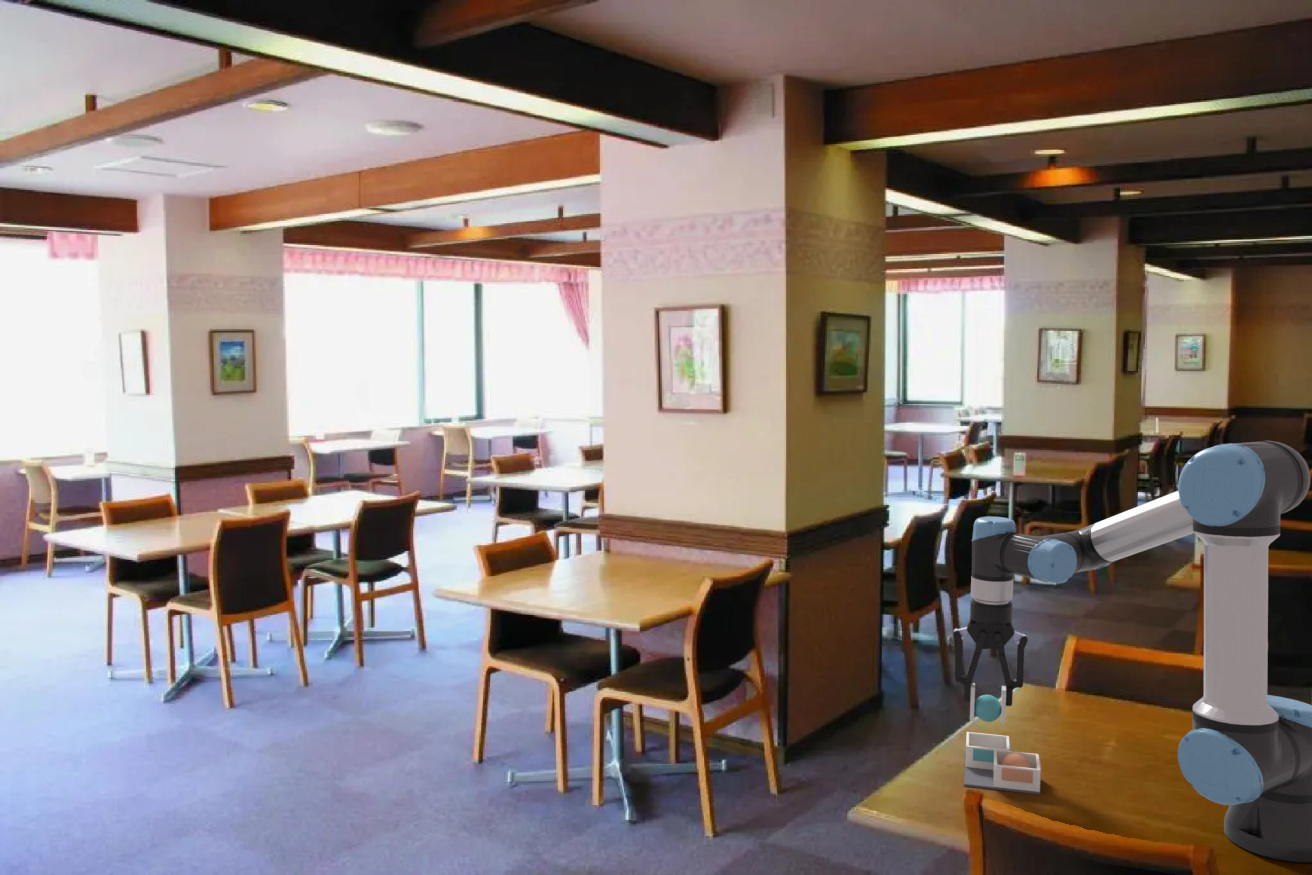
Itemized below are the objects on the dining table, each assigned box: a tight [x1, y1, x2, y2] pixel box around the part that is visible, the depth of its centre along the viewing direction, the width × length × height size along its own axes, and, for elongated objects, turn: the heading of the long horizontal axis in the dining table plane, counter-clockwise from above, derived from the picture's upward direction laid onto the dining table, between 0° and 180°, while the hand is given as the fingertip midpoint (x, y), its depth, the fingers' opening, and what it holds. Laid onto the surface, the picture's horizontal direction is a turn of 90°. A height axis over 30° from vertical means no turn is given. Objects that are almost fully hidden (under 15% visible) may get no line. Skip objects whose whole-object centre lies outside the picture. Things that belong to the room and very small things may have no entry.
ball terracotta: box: [1001, 753, 1030, 768], centre depth 197 cm, size 5×5×5 cm
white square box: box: [993, 750, 1042, 793], centre depth 197 cm, size 8×8×4 cm
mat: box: [963, 753, 1041, 795], centre depth 201 cm, size 16×13×1 cm
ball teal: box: [974, 694, 1001, 723], centre depth 206 cm, size 5×5×5 cm
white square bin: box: [965, 731, 1012, 770], centre depth 206 cm, size 8×8×4 cm
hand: (987, 719), depth 205 cm, fingers closed on ball teal, 5 cm apart
